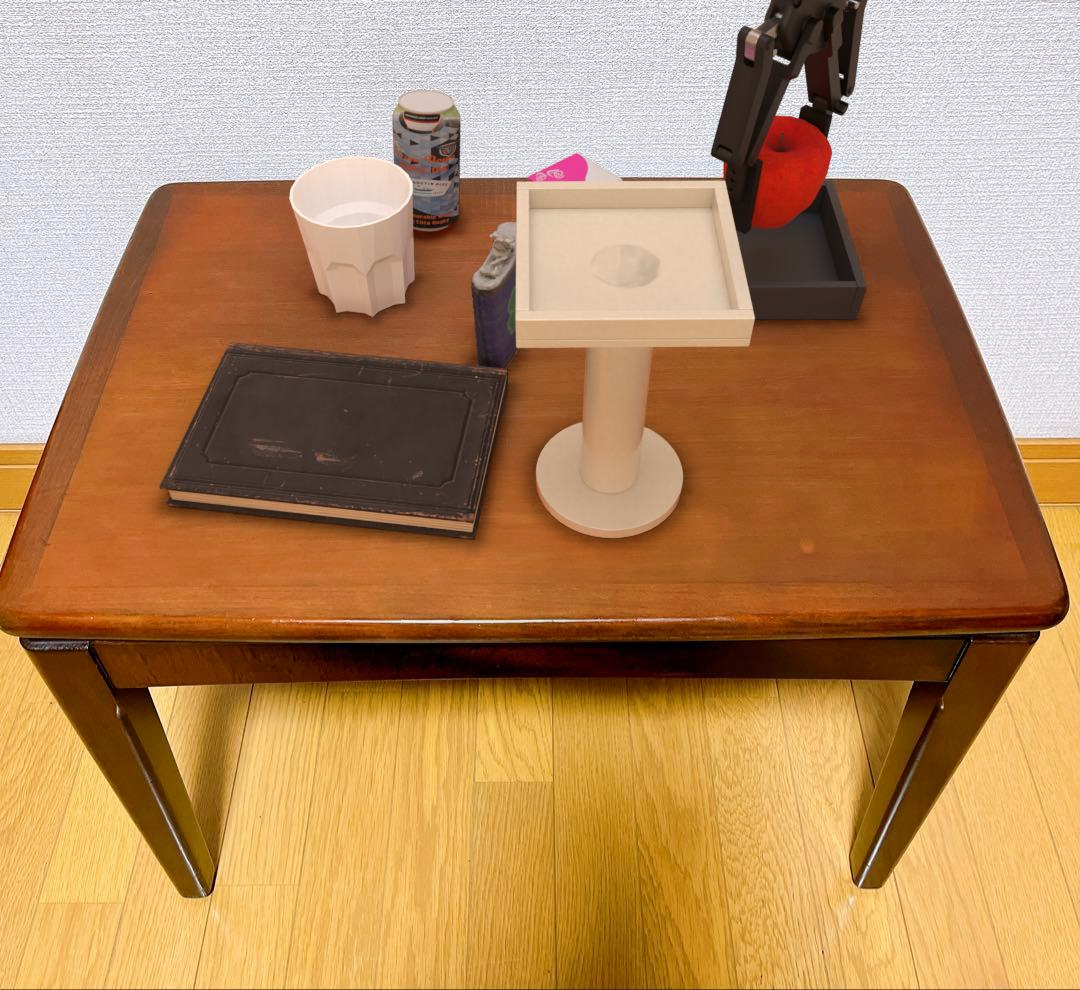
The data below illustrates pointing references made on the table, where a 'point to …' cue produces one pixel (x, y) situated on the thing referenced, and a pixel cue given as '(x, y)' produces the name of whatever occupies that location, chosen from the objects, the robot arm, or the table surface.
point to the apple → (789, 171)
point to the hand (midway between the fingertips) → (769, 202)
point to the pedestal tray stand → (623, 328)
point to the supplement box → (573, 171)
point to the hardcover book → (342, 440)
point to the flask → (496, 300)
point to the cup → (357, 231)
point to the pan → (805, 265)
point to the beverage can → (429, 155)
